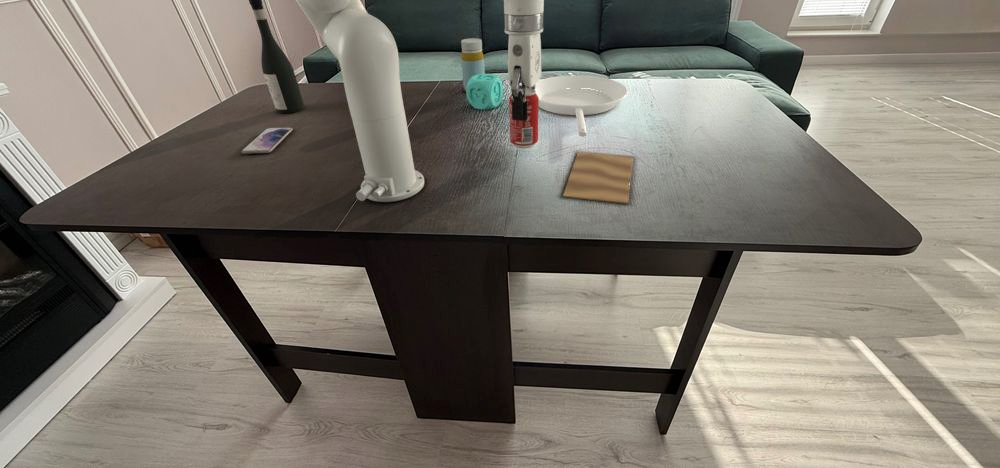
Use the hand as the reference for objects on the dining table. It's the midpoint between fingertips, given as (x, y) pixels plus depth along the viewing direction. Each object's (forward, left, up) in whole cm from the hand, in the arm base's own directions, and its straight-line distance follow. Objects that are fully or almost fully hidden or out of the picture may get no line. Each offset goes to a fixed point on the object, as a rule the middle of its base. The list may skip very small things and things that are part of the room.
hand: (524, 113), depth 92 cm
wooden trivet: (-8, -18, -9) cm, 22 cm away
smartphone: (-8, +65, -9) cm, 66 cm away
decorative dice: (+29, +19, -9) cm, 36 cm away
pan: (+28, -8, -9) cm, 31 cm away
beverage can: (0, 0, -7) cm, 7 cm away
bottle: (+42, +27, -9) cm, 51 cm away
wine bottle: (+14, +76, -9) cm, 78 cm away
